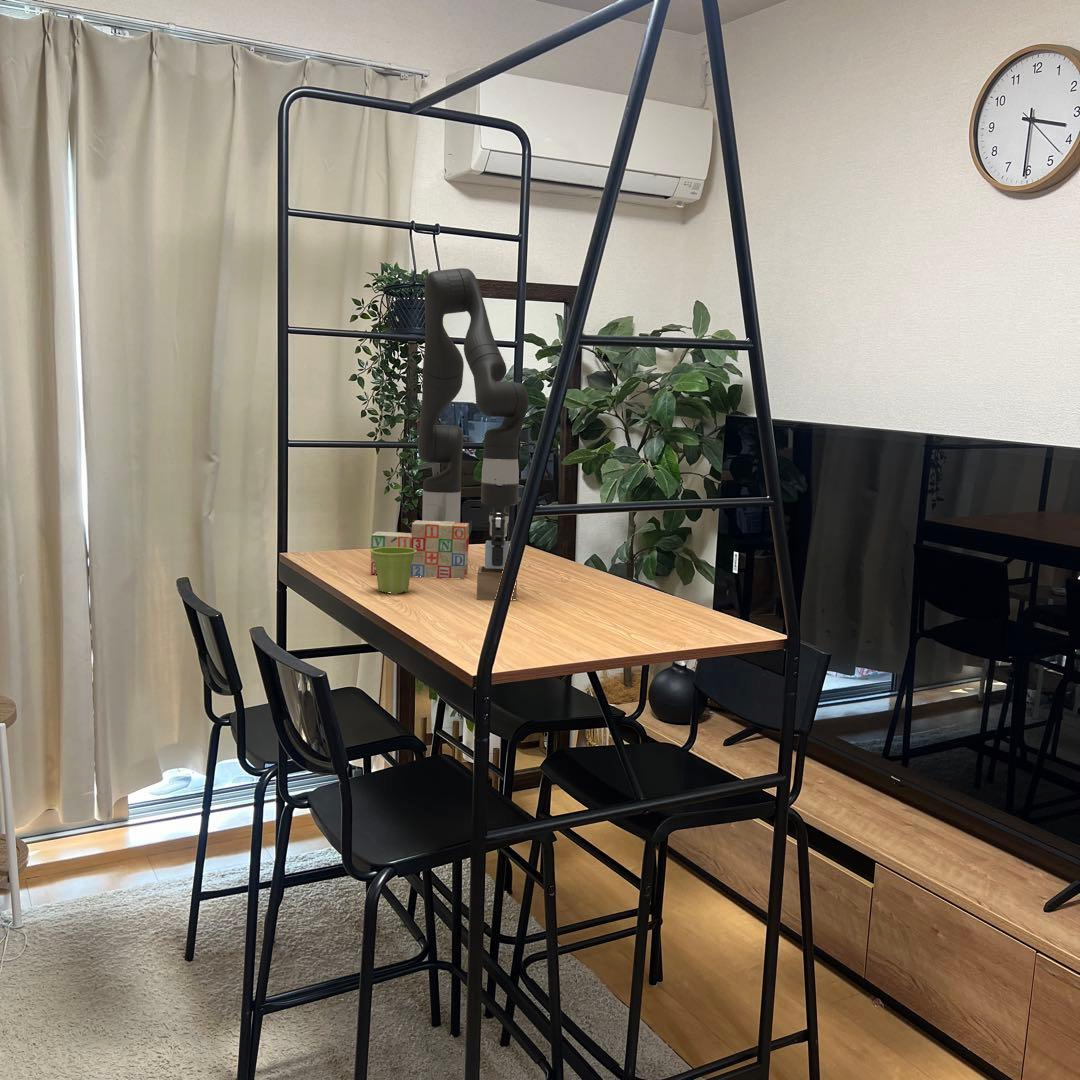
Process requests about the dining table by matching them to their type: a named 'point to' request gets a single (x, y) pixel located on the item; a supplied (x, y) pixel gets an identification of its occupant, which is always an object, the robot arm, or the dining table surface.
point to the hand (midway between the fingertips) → (497, 563)
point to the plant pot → (393, 568)
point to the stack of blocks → (431, 548)
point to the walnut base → (489, 583)
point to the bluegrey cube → (489, 555)
